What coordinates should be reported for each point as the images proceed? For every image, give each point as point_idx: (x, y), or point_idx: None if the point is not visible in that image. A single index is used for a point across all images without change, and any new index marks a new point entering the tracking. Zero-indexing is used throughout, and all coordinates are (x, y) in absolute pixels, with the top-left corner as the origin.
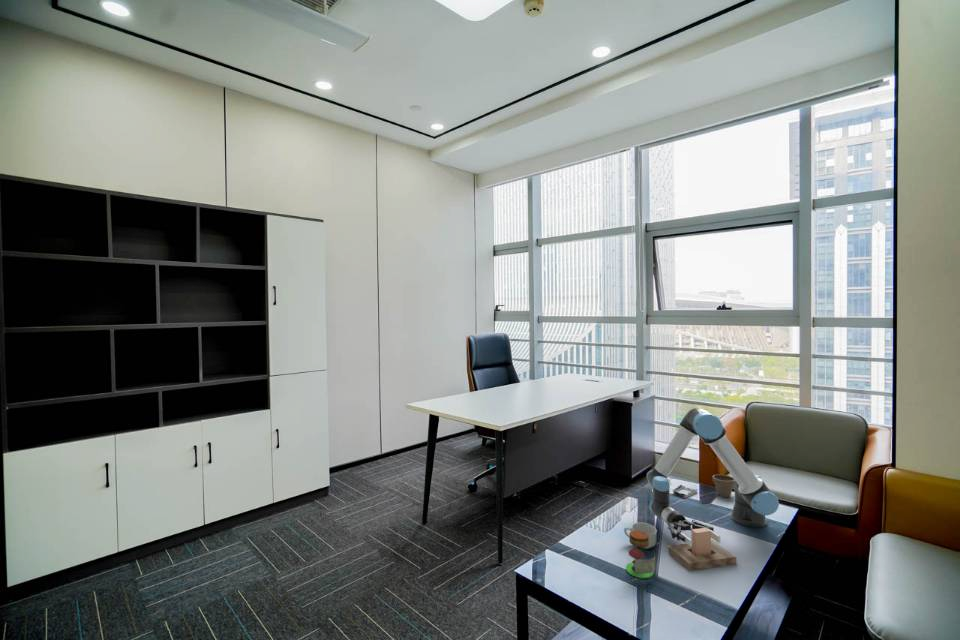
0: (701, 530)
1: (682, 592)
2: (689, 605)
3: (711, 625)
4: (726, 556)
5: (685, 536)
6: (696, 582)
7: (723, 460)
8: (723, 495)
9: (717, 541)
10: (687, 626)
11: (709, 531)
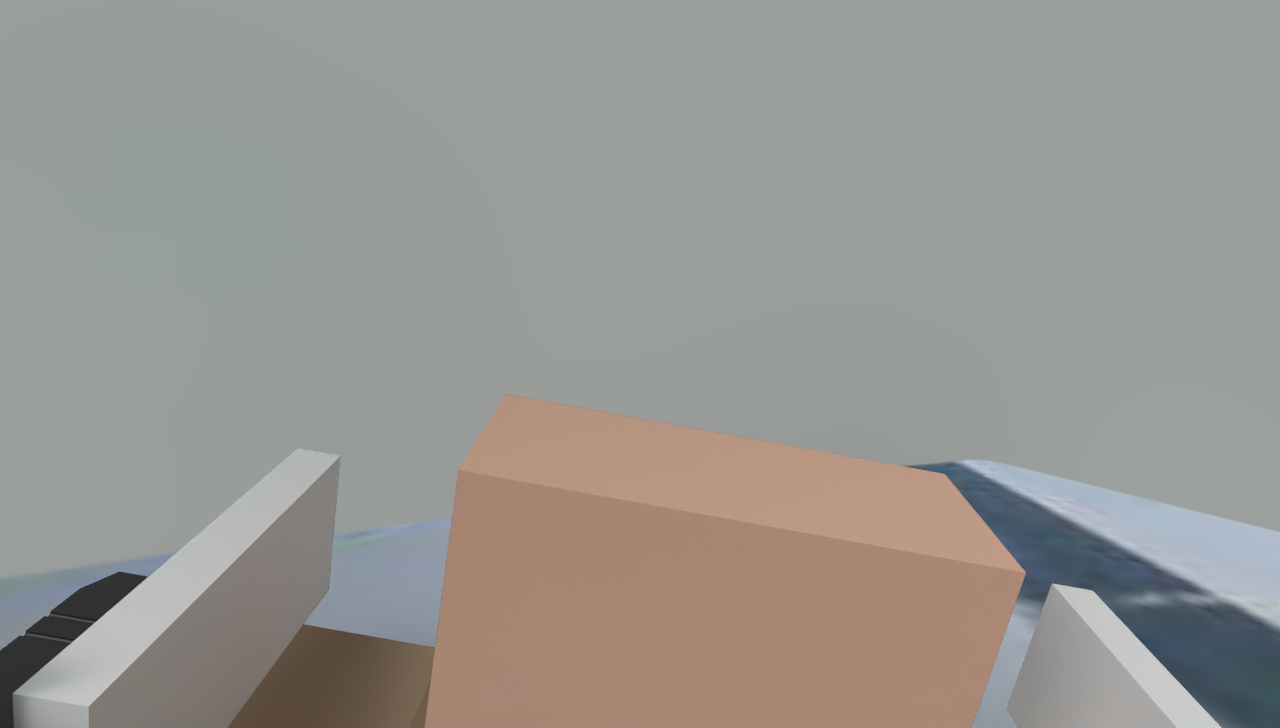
0: (727, 466)
1: (1181, 656)
2: (1138, 575)
3: (1034, 484)
4: (339, 660)
5: (1199, 713)
6: (1003, 685)
7: None
8: None
9: (312, 605)
10: (1174, 517)
11: (543, 407)
